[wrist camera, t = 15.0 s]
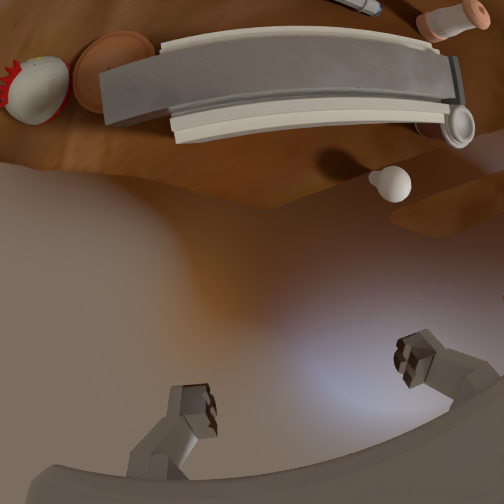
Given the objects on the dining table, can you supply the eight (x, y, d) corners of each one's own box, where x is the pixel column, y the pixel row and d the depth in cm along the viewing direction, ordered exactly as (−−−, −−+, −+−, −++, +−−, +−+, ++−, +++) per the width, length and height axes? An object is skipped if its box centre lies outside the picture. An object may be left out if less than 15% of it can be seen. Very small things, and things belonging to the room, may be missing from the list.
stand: (200, 142, 45) (169, 144, 18) (191, 92, 41) (152, 31, 14) (349, 124, 46) (467, 124, 19) (342, 78, 42) (452, 39, 15)
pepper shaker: (415, 34, 38) (475, 14, 20) (414, 10, 36) (470, -14, 18) (439, 47, 39) (499, 35, 22) (438, 24, 37) (494, 7, 19)
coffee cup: (404, 105, 45) (442, 102, 34) (433, 99, 44) (472, 98, 33) (415, 148, 48) (454, 154, 37) (443, 139, 48) (481, 145, 37)
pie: (71, 110, 39) (58, 109, 34) (96, 35, 34) (86, 27, 29) (144, 121, 42) (136, 119, 38) (172, 40, 37) (167, 31, 32)
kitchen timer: (85, 67, 36) (43, 49, 22) (53, 133, 40) (6, 137, 26) (39, 52, 32) (-4, 38, 18) (11, 114, 36) (-36, 115, 22)
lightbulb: (356, 191, 51) (386, 205, 40) (359, 159, 48) (390, 166, 38) (383, 193, 51) (415, 206, 41) (386, 162, 49) (419, 170, 39)
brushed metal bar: (124, 127, 20) (105, 125, 16) (117, 83, 18) (98, 74, 14) (428, 99, 21) (455, 98, 17) (422, 62, 19) (447, 56, 15)
